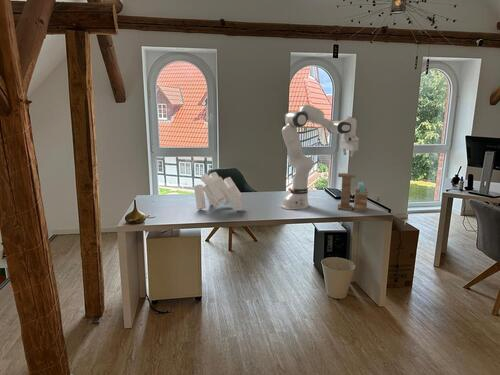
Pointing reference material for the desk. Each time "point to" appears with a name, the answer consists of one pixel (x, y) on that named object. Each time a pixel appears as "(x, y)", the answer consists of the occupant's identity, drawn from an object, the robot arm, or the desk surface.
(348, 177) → the walnut shelf post
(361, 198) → the oak block
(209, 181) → the pile of blocks
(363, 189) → the teal bar
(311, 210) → the desk surface
